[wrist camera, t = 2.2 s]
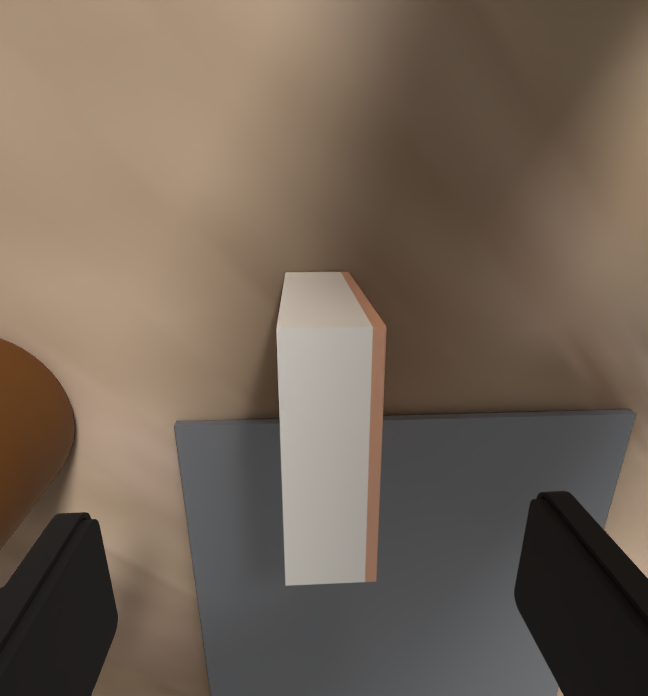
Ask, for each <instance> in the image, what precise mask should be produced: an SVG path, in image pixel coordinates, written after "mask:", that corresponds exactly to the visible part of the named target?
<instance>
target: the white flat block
mask: <svg viewBox="0 0 648 696" xmlns="http://www.w3.org/2000/svg"><path fill="white" fill-rule="evenodd" d="M386 328H387V327H386V325H385V324H384V322H383V321H382V320H381V318H380V317H379V315H378V314H377V312H376V311H375V309H374V308H373V307H372V305H371V304H370V302H369V301H368V299H367V298H366V296H365V295H364V294H363V292H362V291H361V289H360V288H359V286H358V285H357V283H356V282H355V281H354V279H353V278H352V276H351V275H350V273H349V272H285V278H284V284H283V291H282V297H281V303H280V309H279V316H278V322H277V328H276V332H277V360H278V388H279V417H280V445H281V473H282V501H283V529H284V558H285V586H290V585H312V584H334V583H356V582H376V575H377V550H378V525H379V500H380V476H381V451H382V426H383V402H384V377H385V352H386Z"/></svg>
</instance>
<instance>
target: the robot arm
mask: <svg viewBox="0 0 648 696" xmlns="http://www.w3.org/2000/svg"><path fill="white" fill-rule="evenodd" d="M514 598H515V602H516V606H517V608H518V610H519V612H520V614H521V616H522V618H523V620H524V622H525V624H526V625H527V627H528V629H529V631H530V633H531V635H532V637H533V639H534V640H535V642H536V644H537V646H538V648H539V650H540V652H541V654H542V656H543V657H544V659H545V661H546V663H547V665H548V667H549V669H550V671H551V672H552V674H553V676H554V678H555V680H556V682H557V684H558V686H559V687H560V689H561V691H562V693H563V695H564V696H648V578H647V577H646V576H645V575H644V574H643V573H642V572H641V571H640V570H639V568H638V567H637V566H636V565H635V564H634V563H633V562H632V561H631V560H630V558H629V557H628V556H627V555H626V554H625V553H624V552H623V551H622V550H621V548H620V547H619V546H618V545H617V544H616V543H615V542H614V541H613V540H612V538H611V537H610V536H609V535H608V534H607V533H606V532H605V531H604V530H603V528H602V527H601V526H600V525H599V524H598V523H597V522H596V521H595V520H594V518H593V517H592V516H591V515H590V514H589V513H588V512H587V511H586V510H585V508H584V507H583V506H582V505H581V504H580V503H579V502H578V501H577V499H576V498H575V497H574V496H573V495H572V494H571V493H570V492H567V491H550V492H540V493H539V494H538V495H537V498H536V499H533V500H532V501H531V502H530V506H529V511H528V517H527V522H526V528H525V533H524V539H523V544H522V550H521V555H520V561H519V566H518V572H517V577H516V583H515V588H514ZM117 621H118V615H117V609H116V604H115V599H114V594H113V589H112V584H111V579H110V575H109V570H108V565H107V560H106V555H105V550H104V545H103V540H102V535H101V530H100V525H99V522H98V521H97V520H96V519H91V517H90V515H89V514H88V513H85V512H84V513H62V514H57V515H55V516H54V517H53V519H52V520H51V521H50V523H49V524H48V526H47V527H46V528H45V530H44V531H43V533H42V534H41V536H40V537H39V538H38V540H37V541H36V543H35V544H34V545H33V547H32V548H31V550H30V551H29V553H28V554H27V555H26V557H25V558H24V560H23V561H22V562H21V564H20V565H19V567H18V568H17V570H16V571H15V572H14V574H13V575H12V577H11V578H10V580H9V581H8V582H7V584H6V585H5V586H4V587H2V588H1V589H0V696H91V695H92V692H93V689H94V687H95V684H96V682H97V679H98V677H99V674H100V671H101V669H102V666H103V664H104V661H105V658H106V656H107V653H108V651H109V648H110V646H111V643H112V640H113V638H114V635H115V632H116V628H117Z"/></svg>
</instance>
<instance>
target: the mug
mask: <svg viewBox="0 0 648 696" xmlns="http://www.w3.org/2000/svg"><path fill="white" fill-rule="evenodd" d="M74 427H75V424H74V417H73V412H72V408H71V405H70V402H69V399H68V397H67V395H66V392H65V391H64V389H63V387H62V386H61V384H60V382H59V381H58V380H57V378H56V377H55V376H54V375H53V373H52V372H51V371H50V370H49V369H48V368H47V367H46V366H45V365H44V364H43V363H42V362H40V361H39V360H38V359H37V358H35V357H34V356H33V355H31V354H30V353H28V352H27V351H25V350H24V349H22V348H20V347H18V346H16V345H14V344H13V343H11V342H8V341H5V340H3V339H0V550H1V548H2V547H3V546H4V544H5V543H6V542H7V540H8V539H9V538H10V537H11V535H12V534H13V533H14V531H15V530H16V529H17V527H18V526H19V525H20V523H21V522H22V521H23V519H24V518H25V517H26V515H27V514H28V513H29V511H30V510H31V508H32V507H33V506H34V504H35V503H36V502H37V500H38V499H39V498H40V496H41V495H42V494H43V493H44V491H45V490H46V489H47V487H48V486H49V485H50V484H51V482H52V481H53V480H54V478H55V477H56V476H57V474H58V473H59V471H60V470H61V468H62V466H63V465H64V463H65V461H66V459H67V457H68V455H69V452H70V450H71V447H72V444H73V439H74Z"/></svg>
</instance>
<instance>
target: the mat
mask: <svg viewBox="0 0 648 696" xmlns="http://www.w3.org/2000/svg"><path fill="white" fill-rule="evenodd" d="M635 417H636V413H635V412H633V411H632V410H631V409H621V410H583V411H546V412H508V413H470V414H433V415H395V416H383V426H382V451H381V476H380V500H379V525H378V550H377V575H376V582H356V583H334V584H312V585H290V586H285V558H284V529H283V501H282V473H281V445H280V419H244V420H206V421H176V424H175V426H174V428H175V435H176V443H177V450H178V458H179V465H180V472H181V480H182V487H183V495H184V502H185V509H186V517H187V524H188V532H189V539H190V546H191V554H192V561H193V568H194V576H195V583H196V591H197V598H198V605H199V613H200V620H201V628H202V635H203V642H204V650H205V657H206V665H207V672H208V679H209V687H210V694H211V696H556V695H557V692H558V688H559V686H558V684H557V682H556V680H555V678H554V676H553V674H552V672H551V671H550V669H549V667H548V665H547V663H546V661H545V659H544V657H543V656H542V654H541V652H540V650H539V648H538V646H537V644H536V642H535V640H534V639H533V637H532V635H531V633H530V631H529V629H528V627H527V625H526V624H525V622H524V620H523V618H522V616H521V614H520V612H519V610H518V608H517V606H516V602H515V598H514V588H515V583H516V577H517V572H518V566H519V561H520V555H521V550H522V544H523V539H524V533H525V528H526V522H527V517H528V511H529V506H530V502H531V501H532V500H533V499H536V498H537V495H538V494H539V493H540V492H550V491H567V492H570V493H571V494H572V495H573V496H574V497H575V498H576V499H577V501H578V502H579V503H580V504H581V505H582V506H583V507H584V508H585V510H586V511H587V512H588V513H589V514H590V515H591V516H592V517H593V518H594V520H595V521H596V522H597V523H598V524H599V525H600V526H601V527H602V528H603V530H604V526H605V523H606V519H607V515H608V512H609V508H610V505H611V501H612V498H613V494H614V491H615V487H616V484H617V480H618V477H619V473H620V470H621V466H622V463H623V459H624V456H625V452H626V449H627V445H628V442H629V438H630V434H631V431H632V427H633V424H634V420H635Z"/></svg>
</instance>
